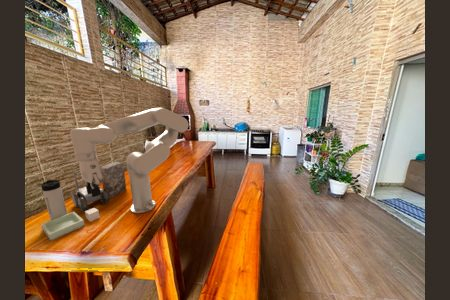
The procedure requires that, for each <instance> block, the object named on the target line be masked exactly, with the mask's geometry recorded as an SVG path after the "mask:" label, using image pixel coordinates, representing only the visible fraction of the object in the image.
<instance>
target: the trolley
mask: <svg viewBox="0 0 450 300" xmlns="http://www.w3.org/2000/svg"><path fill="white" fill-rule="evenodd" d="M72 173H73V178H74V183H75V188H76V192H73V193H71V199H72V203H73V204H74V207H76V208H79V210H80V211H81V213H85V211H87V210H90V208H89V207H90V206H89V204H91V203H94V202H97V201H100V202H101V203H102V204H103V205H105V204H107V203H110V198H109V195H108V193H107V191H106V190H103V188H100V192H101V195H99V196H96V197H92V193H91V194H88V193H87V189H86V186H83V187H81V188H80V187H79V183H78V179H77V174H78V173H81V172H80V170H77V171H73V172H72Z"/></svg>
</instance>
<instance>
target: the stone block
mask: <svg viewBox="0 0 450 300" xmlns="http://www.w3.org/2000/svg"><path fill="white" fill-rule="evenodd" d="M124 166H125V165H124V163H123V162H118V161H115V162H111V163H108V164H105V165H102V166H99V167H100V170H101V174H102V180H100V181H101V182H102V183H101V184H102V190H106V191H107V193H108V195H109V199H111V198H112V199H113V198H114V197H116V196H117V195H119V194H121V193H123V192H124V191H126V190H127V184H126V176H125V168H124Z"/></svg>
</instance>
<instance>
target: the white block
mask: <svg viewBox="0 0 450 300" xmlns="http://www.w3.org/2000/svg"><path fill="white" fill-rule="evenodd" d="M84 214H85V219H86V220H88V221H89V222H93V221H95V220H97V219H99V218H100V217H101V216H100V211H99V209H97V208H95V207H93V208H89V210H87V211H85V212H84Z"/></svg>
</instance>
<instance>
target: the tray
mask: <svg viewBox="0 0 450 300" xmlns="http://www.w3.org/2000/svg"><path fill="white" fill-rule="evenodd" d="M40 225H41V229H42V231H43V232H44V234H45V235H46V236H47V238H48V239H49V241H50V242H52V241H54V240H56V239H58V238H61V237H62V236H65V235H67V234H69V233H71V232H73V231H76V230H78V229H80V228H84V227H85V226H86V225H85V220H84V219H83V218H82V217H81V216H80V215H78V213H76V212H75V211H72V212H69V213H67V214H66V215H64V216H61V217H58V218H56V219H53V220H49V221H46V222H43V223H41V224H40Z"/></svg>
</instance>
